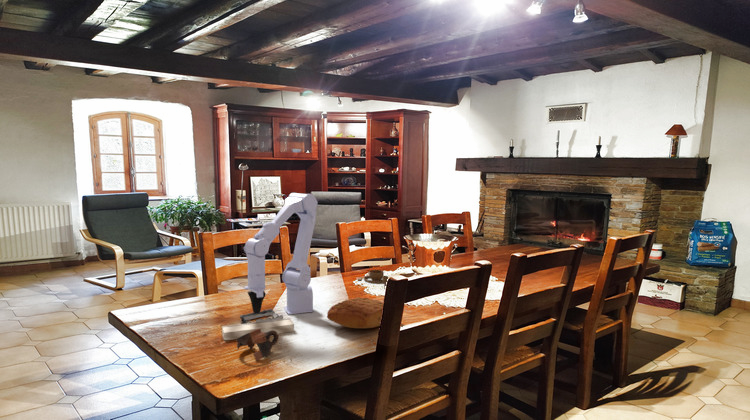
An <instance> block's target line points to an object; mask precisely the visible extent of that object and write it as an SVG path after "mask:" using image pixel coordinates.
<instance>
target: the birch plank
mask: <svg viewBox="0 0 750 420" xmlns="http://www.w3.org/2000/svg"><path fill="white" fill-rule="evenodd" d="M294 323H295V322H293V320H292V319H291V318H283V319H280V320H272V321H263V322H255V323H254V322H251V323H249V322H248V323H246V324H243V323H238V324H232V325H230V324H229V325H223V326H221V335H222V338H223V341H231V340H236V339H238V338H239V337H241V336H243V335H245V334H247V333H249V332H252V331H254V330H256V329H259V328H260V330H261V332H263V333H266V332H269V331H272V330H273V331H276V332H277V334H278V335H279V334H285V333H292V332H293V333H294V332H295V324H294Z"/></svg>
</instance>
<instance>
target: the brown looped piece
mask: <svg viewBox="0 0 750 420" xmlns="http://www.w3.org/2000/svg"><path fill="white" fill-rule="evenodd" d="M271 336H273V339H272V341H270V337H271ZM279 338H280V336H279V334H277V332H276V331H273V330H272V331H269V332H266V333H263V332H261V330H260V328H259V329H256V330H254V331H252V332H249V333H247V334H245V335H243V336H241V337H239V338H238V339H235V340H236V342H237V344H236V348H237V349H238V350H239V349H240V348H241V347H246V346H247V347H248V348H249V349H252V348H254V347H255V345H257V347H258V350H257V351H255V352H254V353H253V357H254V358H255V361H259V360H261V359H263V358H265V357H269V356H271V355H272V352H271V350H272V349H273V347H274V346H275V345H277V343H278V341H279Z"/></svg>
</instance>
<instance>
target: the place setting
mask: <svg viewBox="0 0 750 420" xmlns="http://www.w3.org/2000/svg"><path fill="white" fill-rule="evenodd" d="M384 274H385V272H384V270H380V269H372V270H369V271H368V275H365V276H363V277H361V278H358V279H357V281H359V282H360V281H362V279H363V280H364V281H365V282H366V283H370V284H384V285H383V287H384V288H383V289H385V286H386V287H387V283H388V282H387V279H388V278H389V276H388V275H384ZM369 279H371V280H369ZM379 280H380V281H379ZM382 282H384V283H382ZM386 282H387V283H386Z"/></svg>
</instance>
